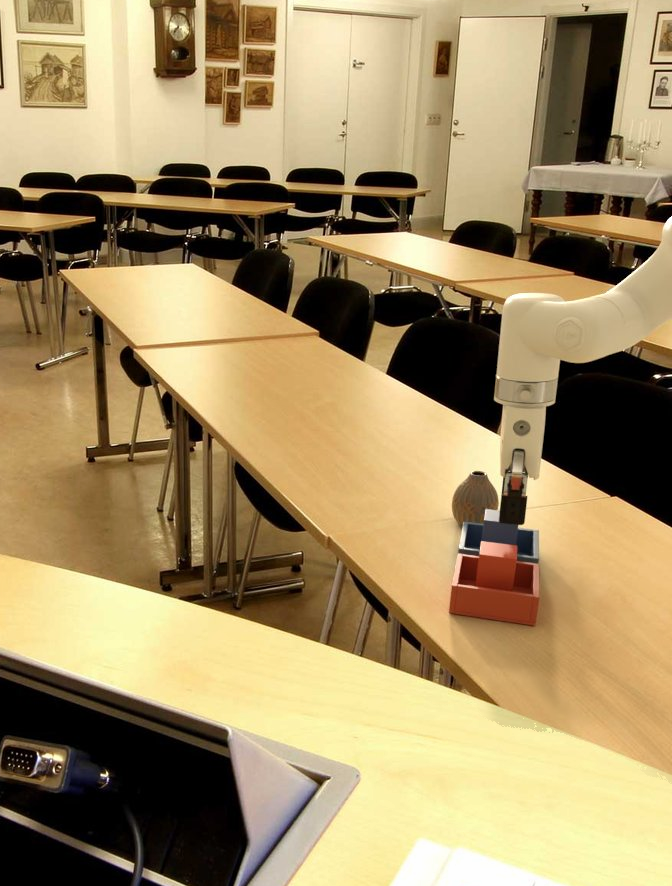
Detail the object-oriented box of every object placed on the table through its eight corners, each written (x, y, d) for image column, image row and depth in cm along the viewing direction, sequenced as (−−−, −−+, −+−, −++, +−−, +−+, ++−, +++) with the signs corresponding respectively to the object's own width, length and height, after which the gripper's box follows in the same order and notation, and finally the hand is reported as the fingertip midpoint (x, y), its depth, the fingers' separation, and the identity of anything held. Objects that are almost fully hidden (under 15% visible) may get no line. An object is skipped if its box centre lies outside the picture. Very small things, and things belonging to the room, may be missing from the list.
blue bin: (535, 555, 134) (538, 530, 132) (535, 585, 125) (539, 558, 123) (460, 545, 137) (463, 521, 136) (455, 574, 128) (458, 548, 127)
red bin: (535, 590, 123) (539, 563, 122) (535, 626, 114) (539, 597, 113) (454, 579, 127) (457, 553, 125) (448, 613, 118) (451, 585, 116)
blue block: (512, 557, 132) (519, 512, 129) (512, 569, 128) (518, 524, 125) (479, 552, 133) (485, 508, 131) (478, 565, 130) (484, 520, 127)
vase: (458, 513, 149) (463, 462, 145) (501, 522, 145) (508, 470, 141) (443, 527, 144) (449, 476, 140) (488, 537, 140) (494, 484, 136)
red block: (510, 593, 122) (517, 545, 119) (509, 608, 118) (516, 559, 115) (475, 587, 123) (481, 540, 121) (473, 602, 119) (479, 554, 117)
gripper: (557, 407, 111) (541, 536, 117) (555, 376, 126) (541, 493, 132) (492, 404, 114) (480, 530, 120) (497, 374, 129) (486, 488, 135)
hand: (512, 510), depth 126 cm, fingers open, 9 cm apart
